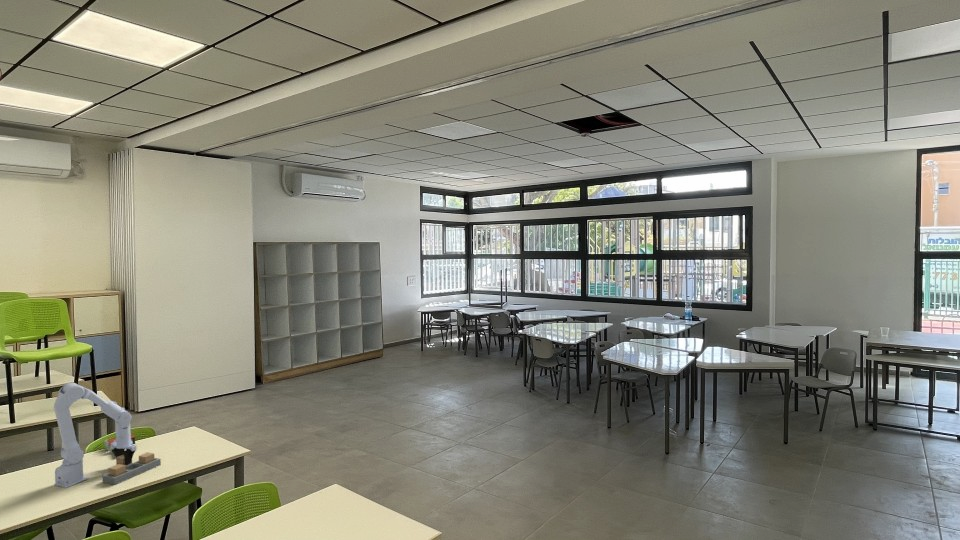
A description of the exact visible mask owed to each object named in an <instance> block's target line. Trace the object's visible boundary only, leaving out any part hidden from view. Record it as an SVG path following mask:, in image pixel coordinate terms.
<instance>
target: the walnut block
mask: <svg viewBox="0 0 960 540" xmlns="http://www.w3.org/2000/svg"><path fill="white" fill-rule="evenodd" d="M115 461H116V462H115V465H117V464H121V465H126V464H125V458H124V455H121V456H118V457H116V458H115ZM131 463H133V460H132V461H131ZM128 465H129V464H128ZM126 466H127V465H126Z"/></svg>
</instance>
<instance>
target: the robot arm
mask: <svg viewBox="0 0 960 540" xmlns="http://www.w3.org/2000/svg"><path fill="white" fill-rule="evenodd" d="M80 399H82V400H89V401H90V402H92V403H94V404H95V405H97V406H98V407H100V412H102V413H103V414H105V415H106V416H107V417H109V418H111V419H113V421H115V438H116V442H113V443H111V447H115V448H114V449H112V452H113V453H112V454H113V455H114V458H115V457H118V456H121V455H124V458H125V464H126V465H128V464H131V461H132V462H133V456H134V454H135V452H136V451H137V449H138V448H137V445H136V444H135V445H133V444H132V443H133V442H131V435H132V433H131V421H132V419H133V416H132V414H131V413H130V412H128V410H126V408H125V407H121V406H120V405H118V402H116V401H112V400H109V401H106V400H105V399H104V398H103V397H101V396H100V395H98V394H97V393H95V392H94V391H93V390H91V389H89V388H86V387H85V386H82V385H79V384H77V383H76V382H72V381H71V382H67V383H66V384H64V385H63V386H62V387H61V388H60V389H59V390H58V394H57V397H56V399H55V401H54V403H53V409H54V414H55V417H56V421H57V425H58V430H59V434H60V439H61V451H60V456H61V458H62V462H61V465H59V466H58V467H55V469H54V482H55V483H54V485H53V486H56V487H61V488H65V489H66V488H69V487H71V486H73V485H74V486H75V485H76V484H78V483H81V482H84V481H86V480H88V479H89V477H87V476H84V463H83V462H84V461H83V460H84V457H85V453H84V450H82V449H81V448H80V444H79V442H78V440H77V436H76V431H75V428H74V425H73V424H74V423H73V420H72V416H71V411H70V407H71V406H72V405H73V404H74V403H75V402H77V401H78V400H80Z"/></svg>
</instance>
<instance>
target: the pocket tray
mask: <svg viewBox="0 0 960 540" xmlns="http://www.w3.org/2000/svg"><path fill="white" fill-rule="evenodd" d="M161 460H162V459H161V458H157V457H155V453H152V452H145V453H142V454H140V455H138V460H136V461H133V462H132V463H131V464H129V465H127V466H126V465H121V464H117V465H116V464H115V465H112V466H111V467H108V473H104V474H103V475H102V483H105V484H109V485H113V486H116V485H118V484H120V483H122V482H125V481H127V480H130V479H132V478H134V477H136V476H139V475H141V474H143V473H145V471H146V472H148V471H150V470H153V469H154V467H155V468H157V467H159V466H161V463H162V462H161ZM156 466H157V467H156ZM147 470H148V471H147ZM142 472H143V473H142ZM140 473H141V474H140Z"/></svg>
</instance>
